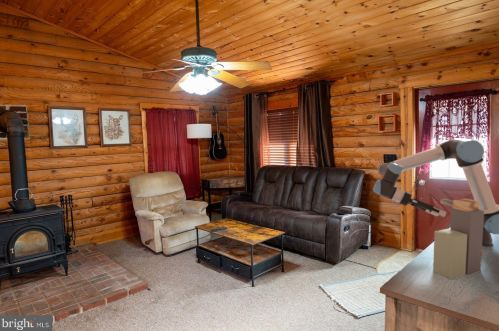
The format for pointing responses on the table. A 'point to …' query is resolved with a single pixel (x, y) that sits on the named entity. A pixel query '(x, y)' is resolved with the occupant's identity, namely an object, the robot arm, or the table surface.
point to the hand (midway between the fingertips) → (442, 214)
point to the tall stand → (470, 235)
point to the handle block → (461, 204)
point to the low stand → (450, 253)
